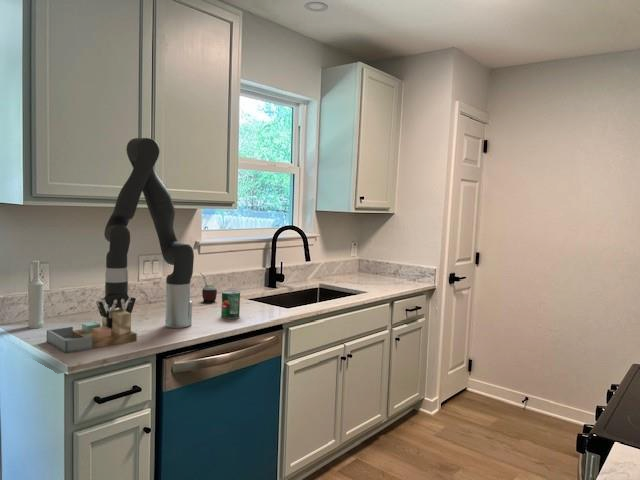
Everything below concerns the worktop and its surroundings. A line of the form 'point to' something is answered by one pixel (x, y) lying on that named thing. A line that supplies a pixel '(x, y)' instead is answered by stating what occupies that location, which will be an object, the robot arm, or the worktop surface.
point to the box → (68, 340)
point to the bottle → (35, 299)
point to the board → (106, 338)
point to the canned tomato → (230, 304)
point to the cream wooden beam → (119, 321)
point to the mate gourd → (209, 292)
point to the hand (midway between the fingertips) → (116, 326)
